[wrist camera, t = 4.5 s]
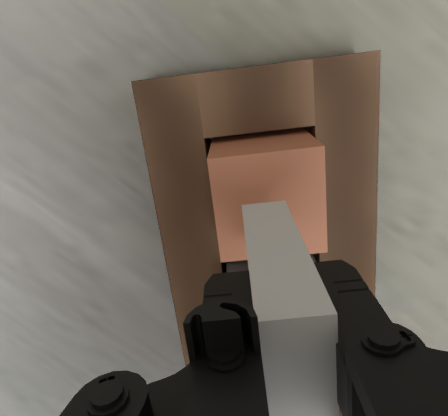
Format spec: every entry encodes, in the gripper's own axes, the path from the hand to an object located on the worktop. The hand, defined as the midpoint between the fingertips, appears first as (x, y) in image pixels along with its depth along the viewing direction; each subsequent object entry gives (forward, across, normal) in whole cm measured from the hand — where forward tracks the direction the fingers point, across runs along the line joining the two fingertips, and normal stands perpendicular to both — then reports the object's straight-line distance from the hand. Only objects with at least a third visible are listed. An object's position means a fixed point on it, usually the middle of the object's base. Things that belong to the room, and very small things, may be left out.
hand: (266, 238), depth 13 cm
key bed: (+9, 0, -6) cm, 11 cm away
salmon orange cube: (+7, 0, 0) cm, 7 cm away
